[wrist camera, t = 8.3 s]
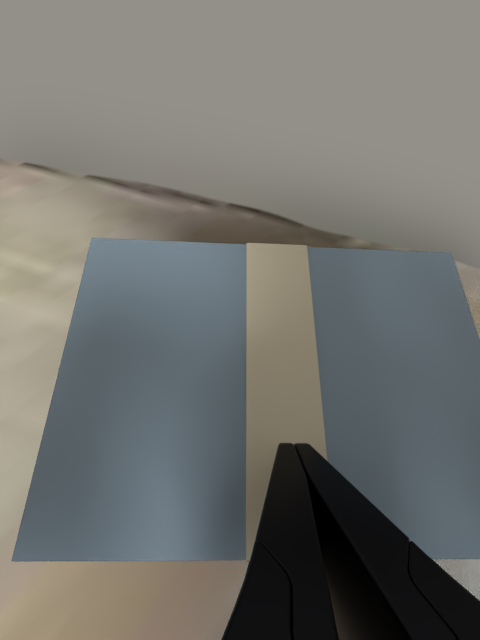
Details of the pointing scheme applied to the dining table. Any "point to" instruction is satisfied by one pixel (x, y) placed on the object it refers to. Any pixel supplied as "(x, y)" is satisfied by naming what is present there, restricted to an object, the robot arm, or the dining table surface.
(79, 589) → the dining table surface
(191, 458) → the box lid
